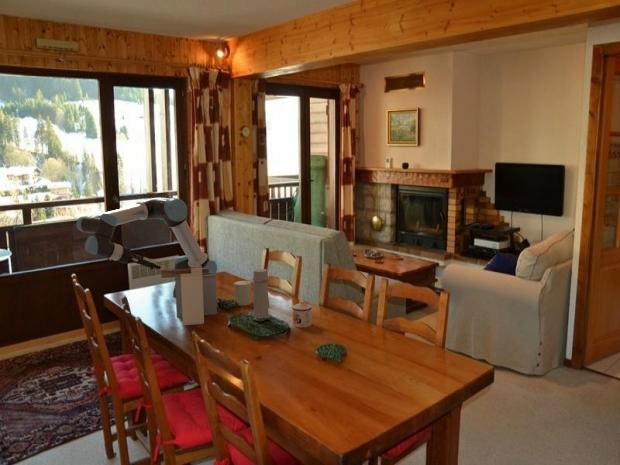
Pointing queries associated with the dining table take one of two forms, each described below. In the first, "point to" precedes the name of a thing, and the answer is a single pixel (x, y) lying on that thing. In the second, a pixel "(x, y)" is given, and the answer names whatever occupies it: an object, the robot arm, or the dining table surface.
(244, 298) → the can
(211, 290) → the grey box
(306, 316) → the teacup with lid
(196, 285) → the cream stand
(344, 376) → the dining table surface
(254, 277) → the water bottle
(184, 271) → the walnut pin
